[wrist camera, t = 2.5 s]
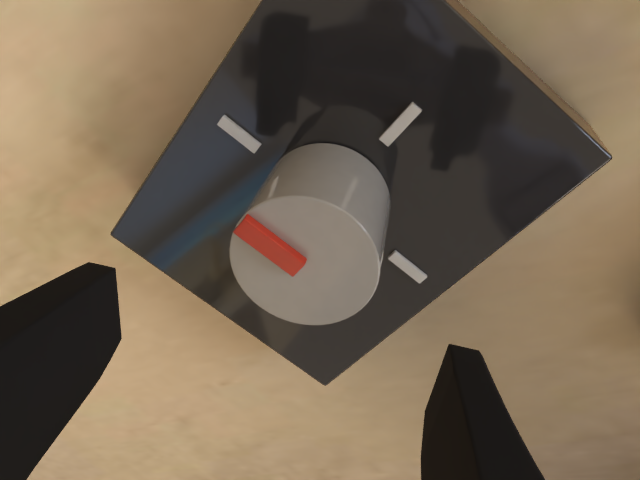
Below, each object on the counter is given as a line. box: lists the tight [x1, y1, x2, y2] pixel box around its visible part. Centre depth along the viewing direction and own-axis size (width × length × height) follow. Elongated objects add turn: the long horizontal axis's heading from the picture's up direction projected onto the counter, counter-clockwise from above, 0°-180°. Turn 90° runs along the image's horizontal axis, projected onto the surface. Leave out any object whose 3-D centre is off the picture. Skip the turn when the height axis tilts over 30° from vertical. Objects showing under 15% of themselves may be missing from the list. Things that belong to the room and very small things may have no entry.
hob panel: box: [111, 0, 612, 386], centre depth 18 cm, size 13×10×3 cm
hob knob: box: [229, 143, 391, 325], centre depth 15 cm, size 4×4×4 cm
